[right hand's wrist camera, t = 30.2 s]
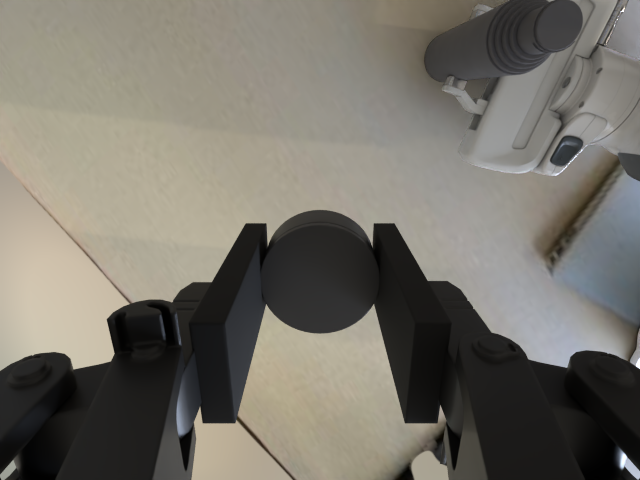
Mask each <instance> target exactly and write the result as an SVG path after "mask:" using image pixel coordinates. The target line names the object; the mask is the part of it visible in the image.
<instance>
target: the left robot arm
mask: <svg viewBox="0 0 640 480" xmlns="http://www.w3.org/2000/svg"><path fill="white" fill-rule="evenodd" d="M547 1H549V2H551V1H553V0H547ZM571 1H573V2H575V3H576V4H577V5H578V6H579V7H580V9H581V11H582V14H583V25H582V29H581V31H580V33H579V35H578V37H577V38H576V40H575V42H574V43H573V44H572V45H571V46H570V47H568V48H567V49H565V50H563V51H560V52H557V53H552V54H551V55H550V56H549V58H548V59H547V60H546V61H545V62H544V63H542V64H541V65H540V66H538V67H537V68H535V69H534V70H532V71H530V72H528V73H525V74H521V75H512V76H502V77H492V78H489V80H488V82H487V85H486V87H485V89H484V92H483V94H482V96H481V99H476V98H472V99H471V97H470V96H469V95H468V93H467V92H466V91H465V89H464V88H465V86H466V83H467V81H466V80H463V79H458V78H457V77H454V76H447V78H446V80H445V83H444V85H443V87H442V91H444V92H447V93H450V94H452V95H455V97H456V99H457V100H458V101H459V103H460V104H461V105H462V107H463V108H464V110H465V111H467V112H470V113H473V114H474V115H473V117H472V119H471V122H470V124H469V126H468V129H467V131H466V133H465V136H464V138H463V140H462V143H461V145H460V147H459V150H458V153H459V155H460V157H461V159H462V160H463V161H464V162H466V163H469V164H472V165H475V166H478V167H481V168H485V169H490V170H494V171H500V172H506V173H514V174H520V173H526V172H529V171H532V172H535V173H538V174H542V175H548V176H557V175H559V174H560V173H561V172H562V171H563V170H564V169H565V168H566V167H567V166H568V165H569V164H570V163H571V162H572V161H573V160H574V159H575V157H576V156H577V155H578V154H579V153H580V152H581V151H582V150H583V149H584V148H585V147H586V146H587V145H600V146H603V147H604V148H605V149H606V150H608V151H609V152H611V153H612V154H614V155H617V156H618V158H619V160H620V162H621V164H622V166H623V168H624V169H625V171H626V173H627V174H628V175H629V176H631V177H632V178H634V179H636V180H638V181H640V60H638V59H635V58H633V57H630V56H628V55H625V54H622V53H620V52H617V51H614V50H612V49H609V48H606V45H607V43H608V41H609V39H610V37H611V35H612V33H613V31H614V29H615V26H616V24H617V21H618V19H619V17H620V15H621V14H622V13H623V12H624V10H625V8H626V6H627V3H628V0H571ZM491 9H494V8H491V7H489V6H486V5H483V4H478V5H476V6H475V7H474V9H473V12H472V14H471V17H470V19H469V20H471V19H473V18H475V17H477V16H479V15H481V14H483V13H485V12H487V11H489V10H491ZM630 363H632V364H633V365H635V366H637V367H638V368H640V329H639V332H638V337H637V348H636V350H635V352H634V354H633V356H632V358H631V360H630Z"/></svg>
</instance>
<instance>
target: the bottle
mask: <svg viewBox="0 0 640 480" xmlns="http://www.w3.org/2000/svg"><path fill="white" fill-rule="evenodd" d="M582 25H583V14H582V11H581V9H580V7H579V6H578V5H577V4H576V3H575V2H573V1H571V0H553V1H551V2H549V1H547V0H510V1H508V2H506V3H504V4H502V5H500V6H498V7H496V8H494V9H491V10H489V11H487V12H485V13H483V14H481V15H479V16H477V17H475V18H473V19H471V20H469V21H467V22H465V23H463V24H461V25H459V26H457V27H455V28H453V29H451V30H449V31H447V32H445V33H443V34H441V35H439V36H437V37H436V38H435V39H434V40H432V42H431V43H430V44H429V46H428V48H427V50H426V53H425V67H426V70H427V72H428V74H429V75H430V76H431V77H432V78H433V79H435V80H437V81H440V82H445V80H446V78H447V76H454V77H457V78H458V79H463V80H472V79H482V78H492V77H502V76H512V75H521V74H525V73H528V72H530V71H532V70H534V69H535V68H537V67H538V66H540V65H541V64H542V63H544V62H545V61H546V60H547V59H548V58H549V56H550V55H551V54H552V53H557V52H560V51H563V50H565V49H567V48H568V47H570V46H571V45H572V44H573V43H574V42H575V40H576V38H577V37H578V35H579V33H580V31H581V29H582Z"/></svg>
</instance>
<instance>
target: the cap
mask: <svg viewBox="0 0 640 480" xmlns="http://www.w3.org/2000/svg"><path fill="white" fill-rule="evenodd" d="M260 275H261V291H262V296H263V298H264V300H265V302H266V304H267V306H268V307H269V309H270V310H271V311H272V312H273V314H274V315H275V316H276V317H277V318H279V319H280V320H281V321H282V322H284V323H285V324H287V325H289V326H291V327H293V328H295V329H298V330H301V331H304V332H309V333H331V332H336V331H339V330H343V329H345V328H347V327H349V326H351V325H353V324H355V323H356V322H358V321H359V320H360V319H362V318H363V317H364V316H365V315H366V314H367V312H368V311H369V310H370V309H371V307H372V306H373V304H374V302H375V300H376V298H377V296H378V292H379V280H380V270H379V266H378V263H377V260H376V257H375V254H374V251H373V248H372V245H371V242H370V240H369V238H368V236H367V235H366V233H365V232H364V230H363V229H362V228H361V227H360V226H359V225H358V224H357V223H356V222H354V221H353V220H352V219H350V218H348V217H347V216H344V215H342V214H340V213H336V212H333V211H327V210H313V211H307V212H303V213H300V214H298V215H296V216H294V217H292V218H290V219H288V220H287V221H285V222H284V223H283V224H282V225H281V226H280V227H279V228H278V229H277V230H276V232H275V233H274V235H273V236H272V238H271V240H270V242H269V245H268V248H267V251H266V254H265V257H264V260H263V263H262V266H261V270H260Z"/></svg>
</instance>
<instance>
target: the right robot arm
mask: <svg viewBox="0 0 640 480" xmlns="http://www.w3.org/2000/svg"><path fill="white" fill-rule="evenodd" d="M267 248H268V245H267V226H266V223H246V224H245V226H244V228H243V229H242V231H241V233H240V234H239V236H238V238H237V240H236V241H235V243H234V245H233V247H232V248H231V250H230V252H229V254H228V255H227V257H226V259H225V260H224V262H223V264H222V266H221V267H220V269H219V271H218V273H217V274H216V276H215V278H214V280H213V281H212V282H193V283H191V284H190V285H188V286H187V287H185V288H184V289H182V290H180V292H179V293H178V294H177V296H176V297H175V299H174V300H173V302H172V303H171V302H169V301H164V300H145V301H139V302H135V303H132V304H129V305H126V306H124V307H122V308H120V309H118V310H117V311H115V312H113V313H112V314H111V316H110V317H109V318H108V319H107V322H108V327H109V331H110V335H111V340H112V344H113V348H114V353H115V354H114V356H113V359H112V361H111V362H107V363H104V364H99V365H94V366H89V367H84V368H79V369H75V370H73V367H72V363H71V359H70V358H69V357H68V356H66V355H65V354H62V353H56V352H51V353H40V354H35V355H33V356H32V355H31V356H28V357H25V358H23V359H21V360H19V361H17V362H15V363H12V364H10V365H9V366H7V367H6V368H4V369H3V370H1V371H0V474H1V473H2V472H3V471H4V469H5V468H6V467H7V466H8V465H9V464H10V463H11V461H12V460H14V462H15V465H16V469H15V470H14V471H13V473H12V474H11V475H10V476H9V477H8V478H6V479H5V480H191V477H192V469H193V461H194V452H195V444H196V435H195V428H194V420H195V418H196V415H197V413H198V410H199V407H201V414H202V421H203V423H235V422H236V419H237V415H238V411H239V407H240V403H241V399H242V395H243V391H244V388H245V384H246V380H247V376H248V372H249V368H250V364H251V360H252V356H253V353H254V349H255V345H256V341H257V337H258V333H259V329H260V325H261V322H262V318H263V314H264V310H265V306H266V302H265V300H264V298H263V296H262V291H261V275H260V270H261V266H262V263H263V260H264V257H265V254H266V251H267ZM373 251H374V254H375V257H376V260H377V263H378V266H379V270H380V280H379V292H378V296H377V298H376V300H375V302H374V305H375V309H376V313H377V317H378V321H379V324H380V328H381V332H382V336H383V340H384V344H385V348H386V352H387V355H388V359H389V363H390V367H391V371H392V375H393V379H394V383H395V386H396V390H397V394H398V398H399V402H400V406H401V410H402V414H403V418H404V421H405V423H438V416H439V409H440V405H441V407H442V410H443V413H444V415H445V418H446V420H447V421H446V427H445V434H444V440H443V447H442V453H441V460H440V464H444V465H445V463H446V460H447V468H448V477H449V480H637V479H636V478H635V477H634V476H633V475H632V474H631V473H630V472H629V471H628V470H627V469H626V468H625V463H626V461H627V458H629V459H630V460H631V462H632V463H633V464H634V465H635V466H636V467H637V468H638V469H639V471H640V368H638V367H637V366H635V365H633V364H632V363H630V362H628V361H626V360H624V359H621V358H619V357H618V356H615V355H612V354H607V353H605V352H598V351H587V350H586V351H580V352H576V353H575V354H573V355H572V356H571V357H570V361H569V364H568V368H565V367H560V366H555V365H550V364H545V363H540V362H536V361H532V360H528V358H527V356H526V354H525V352H524V351H523V350H522V348H521V347H520V346H519V345H518V344H516V343H515V342H513V341H512V340H510V339H508V338H506V337H504V336H501V335H499V334H495V333H491V331H490V330H489V329H488V327H487V326H486V324H485V323H484V322H483V320H482V319H481V317H480V316H479V315H478V313H477V312H476V311H475V309H473V306H472V305H471V304H470V302H469V301H467V298H466V297H465V295H464V294H463V292H462V291H461V290H460V289H459V288H457V287H456V286H454V285H453V284H451V283H450V282H448V281H427V279H426V277H425V276H424V274H423V272H422V270H421V269H420V267H419V265H418V263H417V262H416V260H415V258H414V257H413V255H412V253H411V251H410V250H409V248H408V246H407V244H406V243H405V241H404V239H403V237H402V236H401V234H400V232H399V231H398V229H397V227H396V225H395V224H394V223H374V231H373ZM0 480H1V478H0ZM639 480H640V479H639Z"/></svg>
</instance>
